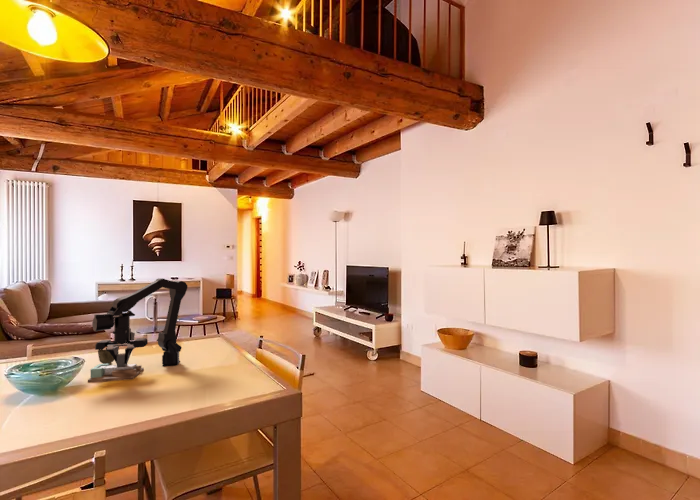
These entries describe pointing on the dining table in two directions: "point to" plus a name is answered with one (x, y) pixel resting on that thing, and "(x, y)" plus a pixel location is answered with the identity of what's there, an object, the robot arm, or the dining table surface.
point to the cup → (105, 357)
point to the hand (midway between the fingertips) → (122, 363)
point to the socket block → (97, 371)
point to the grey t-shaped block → (118, 365)
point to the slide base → (119, 375)
